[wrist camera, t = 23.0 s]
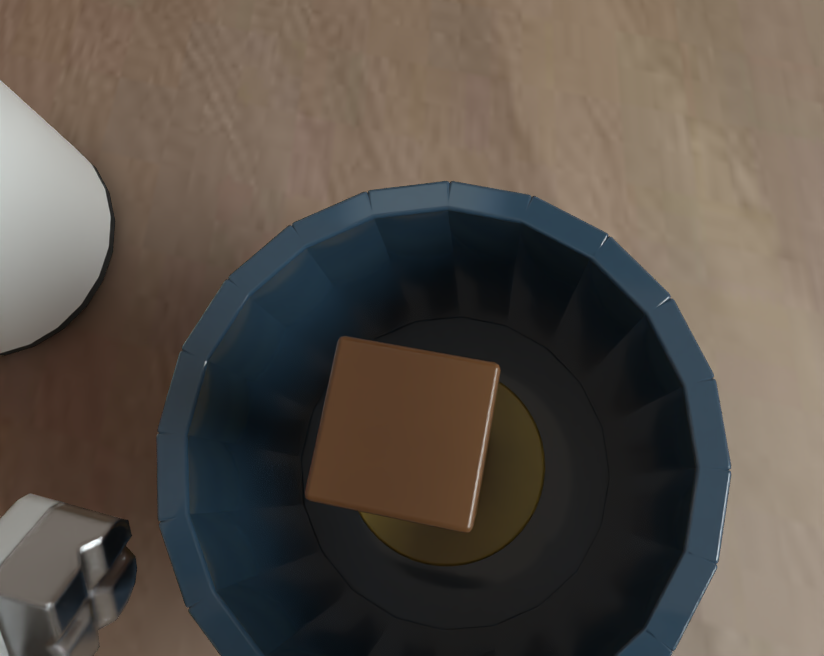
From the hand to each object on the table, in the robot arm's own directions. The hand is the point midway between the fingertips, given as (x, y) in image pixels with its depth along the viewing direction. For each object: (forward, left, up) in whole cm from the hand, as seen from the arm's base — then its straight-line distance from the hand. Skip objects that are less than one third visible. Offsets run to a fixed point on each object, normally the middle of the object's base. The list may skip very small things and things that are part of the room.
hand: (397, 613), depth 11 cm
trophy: (0, -2, -12) cm, 12 cm away
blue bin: (0, -2, -12) cm, 13 cm away
